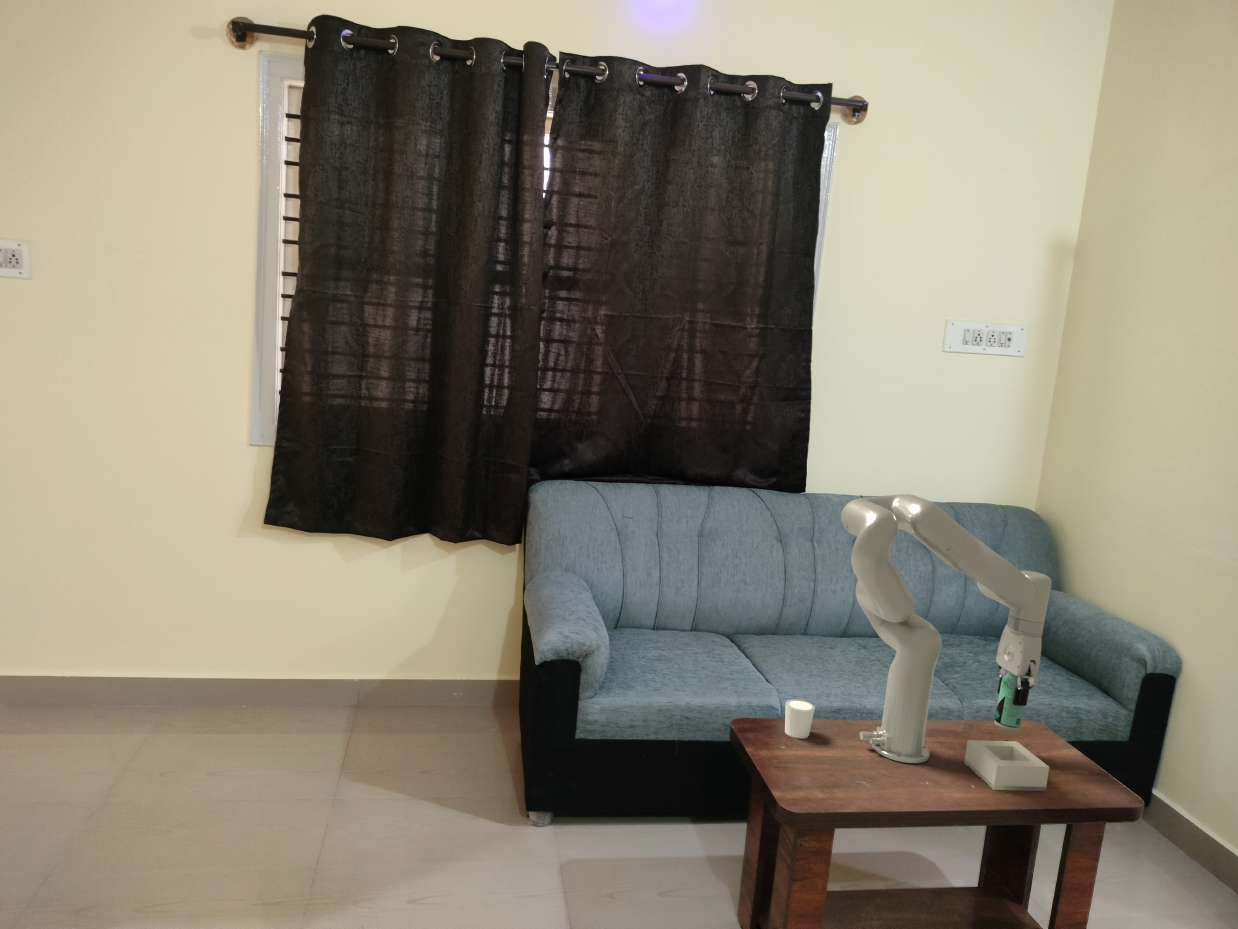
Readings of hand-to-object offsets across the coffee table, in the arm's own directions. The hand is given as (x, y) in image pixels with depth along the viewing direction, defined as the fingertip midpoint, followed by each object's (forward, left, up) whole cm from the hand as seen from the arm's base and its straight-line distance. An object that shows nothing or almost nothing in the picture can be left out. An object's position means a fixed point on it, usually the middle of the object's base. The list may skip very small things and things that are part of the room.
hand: (1011, 699), depth 200 cm
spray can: (0, 0, -7) cm, 7 cm away
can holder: (-7, -12, -13) cm, 19 cm away
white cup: (-48, +7, -13) cm, 50 cm away
